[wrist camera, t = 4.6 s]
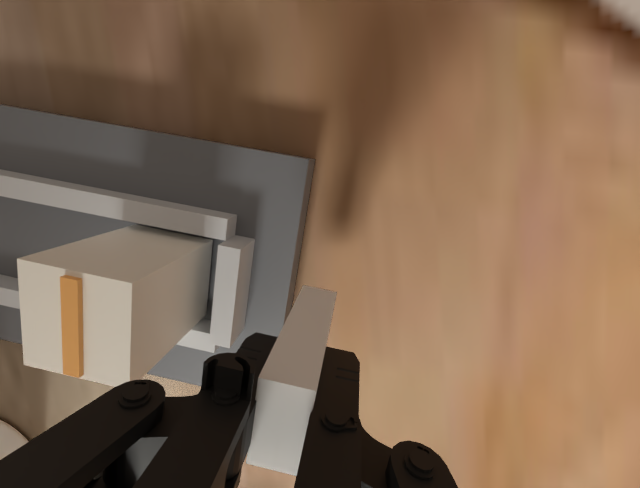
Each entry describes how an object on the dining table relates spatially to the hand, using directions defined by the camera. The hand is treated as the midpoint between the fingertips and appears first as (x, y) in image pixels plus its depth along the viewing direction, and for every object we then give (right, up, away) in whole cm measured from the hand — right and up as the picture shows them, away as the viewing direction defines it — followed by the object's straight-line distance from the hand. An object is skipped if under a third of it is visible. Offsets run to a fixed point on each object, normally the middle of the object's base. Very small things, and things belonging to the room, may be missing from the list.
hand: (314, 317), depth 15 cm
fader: (-7, +2, +2) cm, 8 cm away
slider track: (-15, +4, +5) cm, 16 cm away
